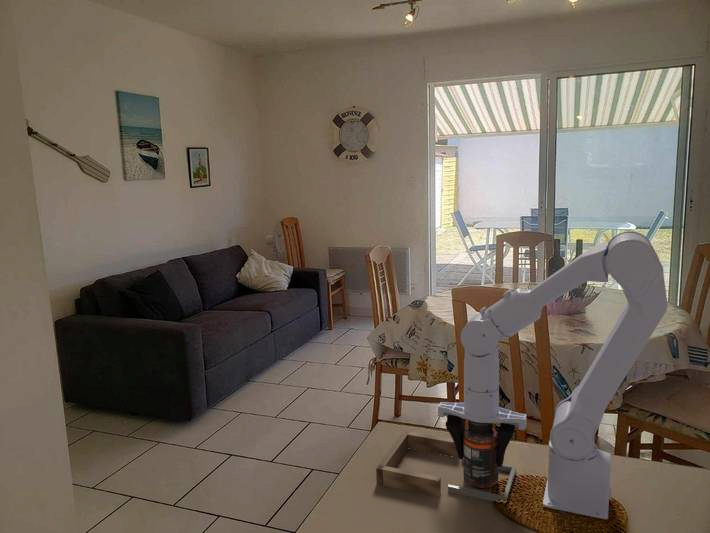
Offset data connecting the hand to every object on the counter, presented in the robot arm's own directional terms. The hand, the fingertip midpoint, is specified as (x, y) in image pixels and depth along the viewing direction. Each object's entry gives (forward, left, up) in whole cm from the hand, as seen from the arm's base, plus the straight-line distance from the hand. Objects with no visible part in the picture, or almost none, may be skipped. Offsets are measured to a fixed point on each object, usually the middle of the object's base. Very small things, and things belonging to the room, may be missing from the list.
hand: (480, 460), depth 95 cm
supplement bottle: (0, 0, -4) cm, 4 cm away
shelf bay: (+10, 0, -4) cm, 11 cm away
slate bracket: (0, 0, -4) cm, 4 cm away
